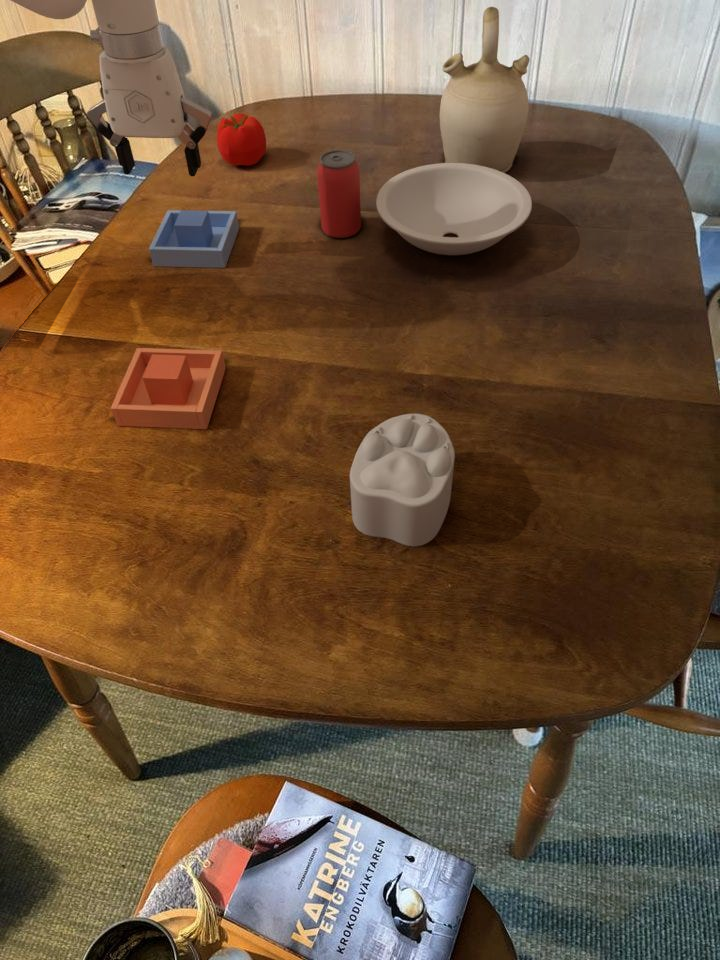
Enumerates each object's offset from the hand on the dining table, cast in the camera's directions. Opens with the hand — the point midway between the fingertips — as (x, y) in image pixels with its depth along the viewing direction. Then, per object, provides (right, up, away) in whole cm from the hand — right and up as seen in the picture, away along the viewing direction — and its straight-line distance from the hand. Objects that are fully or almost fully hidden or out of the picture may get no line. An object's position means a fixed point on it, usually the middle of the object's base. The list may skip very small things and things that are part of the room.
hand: (162, 170), depth 105 cm
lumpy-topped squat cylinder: (+34, -47, -23) cm, 63 cm away
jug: (+51, +13, +27) cm, 59 cm away
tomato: (+7, +15, +30) cm, 34 cm away
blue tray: (+2, -7, +12) cm, 14 cm away
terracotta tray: (+4, -34, -11) cm, 36 cm away
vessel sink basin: (+44, -6, +11) cm, 46 cm away
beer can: (+26, -4, +14) cm, 30 cm away
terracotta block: (+4, -34, -11) cm, 36 cm away
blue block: (+3, -7, +11) cm, 13 cm away
